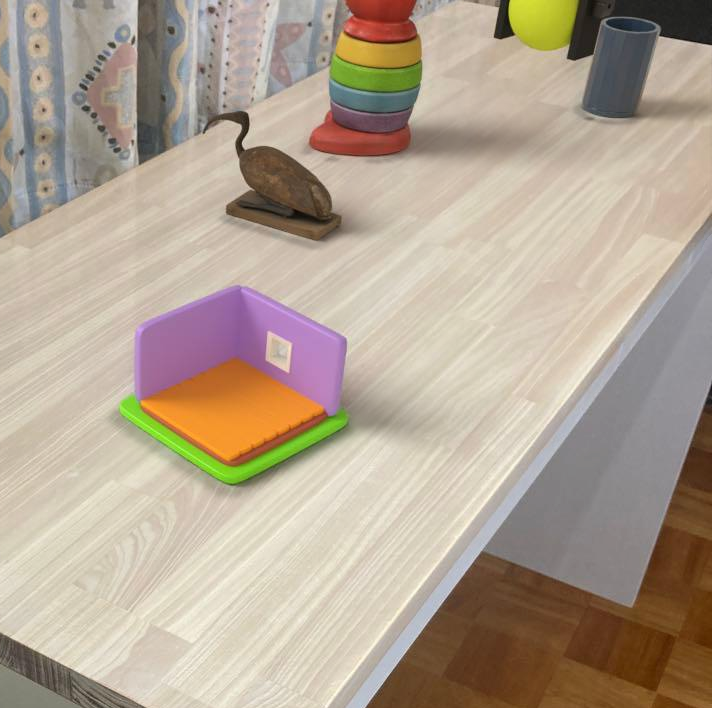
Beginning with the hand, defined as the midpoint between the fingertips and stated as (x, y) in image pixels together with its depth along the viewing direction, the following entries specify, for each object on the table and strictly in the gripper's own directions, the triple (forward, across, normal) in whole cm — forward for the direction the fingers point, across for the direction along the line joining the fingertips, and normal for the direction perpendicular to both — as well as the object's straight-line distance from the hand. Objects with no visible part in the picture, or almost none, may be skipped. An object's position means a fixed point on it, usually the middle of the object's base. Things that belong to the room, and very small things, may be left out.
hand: (542, 45), depth 96 cm
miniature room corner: (+15, +9, -42) cm, 46 cm away
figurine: (+15, -15, -17) cm, 27 cm away
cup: (+15, -11, +34) cm, 39 cm away
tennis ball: (-3, 0, 0) cm, 3 cm away
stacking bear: (+15, -22, +4) cm, 27 cm away
